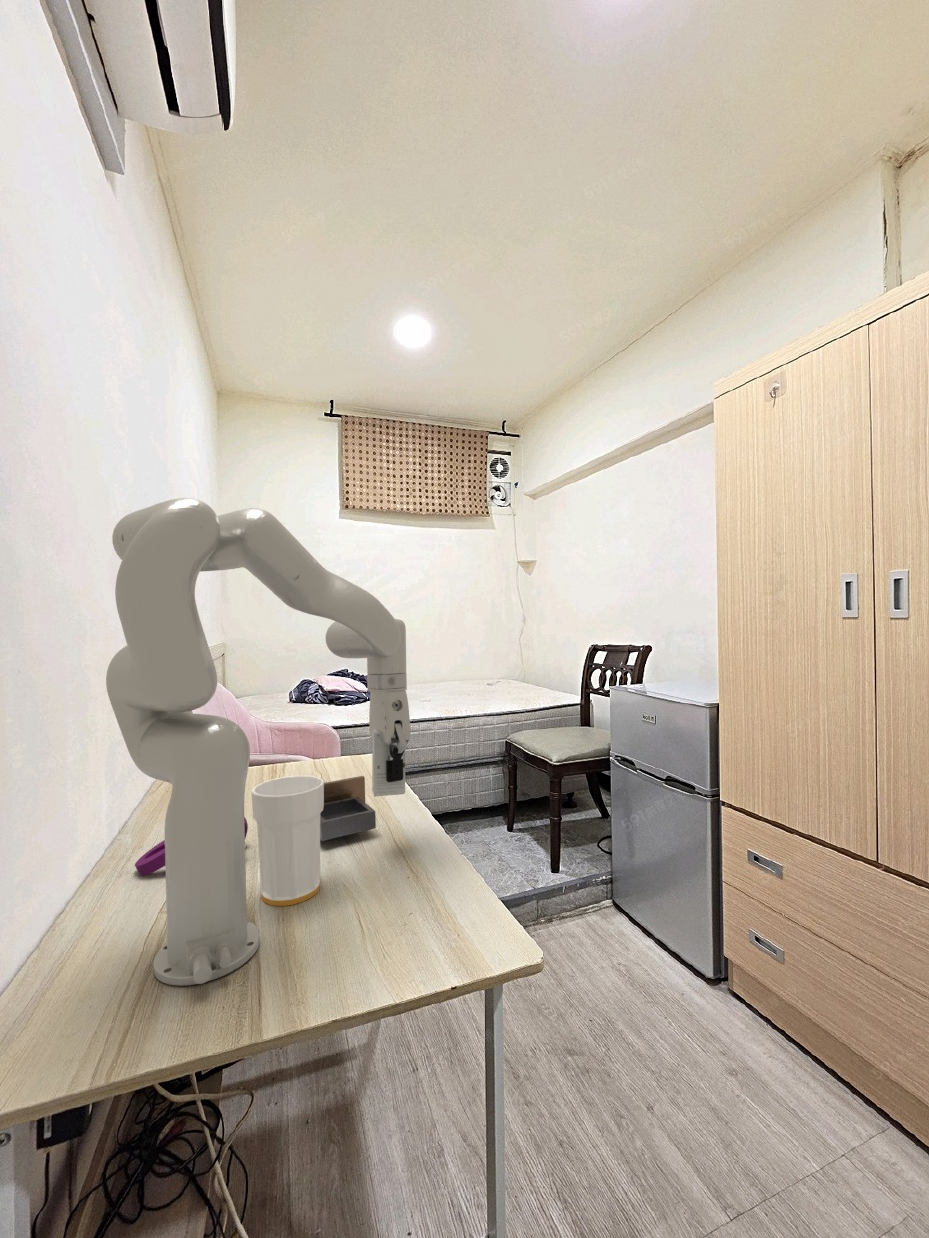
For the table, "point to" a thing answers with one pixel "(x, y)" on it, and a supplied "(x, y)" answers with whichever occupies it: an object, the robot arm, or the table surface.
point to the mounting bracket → (158, 857)
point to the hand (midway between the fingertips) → (388, 776)
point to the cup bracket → (345, 809)
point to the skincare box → (383, 770)
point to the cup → (289, 837)
